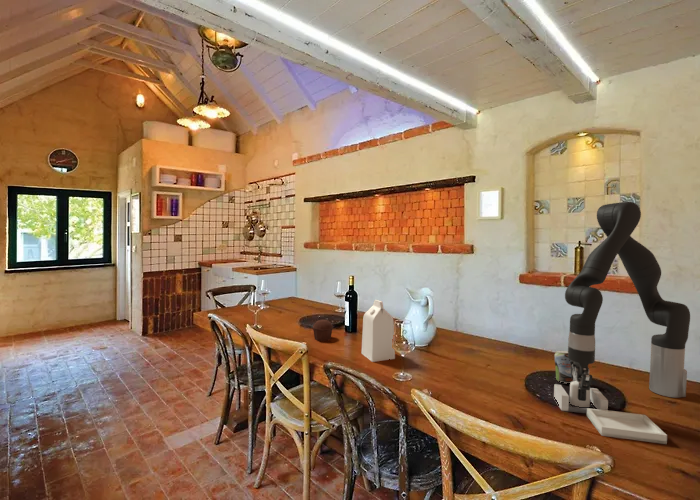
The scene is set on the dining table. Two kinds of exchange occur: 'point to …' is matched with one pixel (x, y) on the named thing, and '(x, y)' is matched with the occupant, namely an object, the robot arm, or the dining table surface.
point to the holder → (563, 402)
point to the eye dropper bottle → (574, 396)
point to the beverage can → (563, 367)
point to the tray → (626, 426)
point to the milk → (378, 333)
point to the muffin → (322, 330)
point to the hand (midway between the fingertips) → (579, 397)
